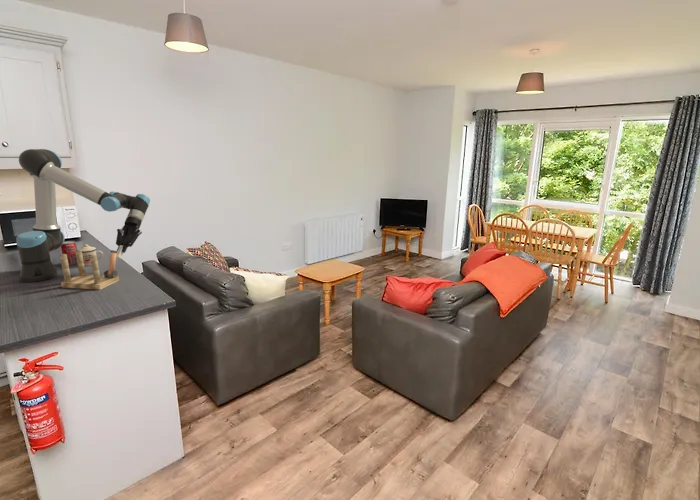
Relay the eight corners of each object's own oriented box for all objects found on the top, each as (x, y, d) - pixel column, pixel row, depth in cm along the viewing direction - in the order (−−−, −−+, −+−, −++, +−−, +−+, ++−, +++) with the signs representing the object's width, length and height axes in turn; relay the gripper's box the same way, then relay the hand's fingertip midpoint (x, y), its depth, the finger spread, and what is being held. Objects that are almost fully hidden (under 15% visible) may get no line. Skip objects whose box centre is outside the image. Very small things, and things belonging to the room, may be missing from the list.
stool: (61, 287, 180) (55, 255, 176) (82, 278, 192) (77, 248, 188) (100, 289, 178) (95, 257, 174) (119, 280, 190) (114, 250, 186)
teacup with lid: (79, 267, 210) (75, 247, 207) (79, 263, 217) (76, 244, 214) (104, 264, 217) (101, 244, 214) (104, 260, 224) (101, 241, 221)
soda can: (82, 262, 219) (78, 241, 216) (72, 265, 212) (68, 243, 209) (71, 261, 220) (67, 240, 217) (61, 265, 213) (56, 243, 210)
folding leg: (105, 276, 186) (109, 250, 188) (109, 276, 189) (113, 251, 191) (111, 276, 186) (114, 250, 188) (115, 276, 189) (118, 251, 191)
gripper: (149, 223, 206) (134, 261, 194) (127, 223, 207) (110, 260, 195) (142, 216, 199) (126, 254, 188) (119, 215, 200) (101, 253, 189)
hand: (118, 257), depth 191 cm, fingers closed
